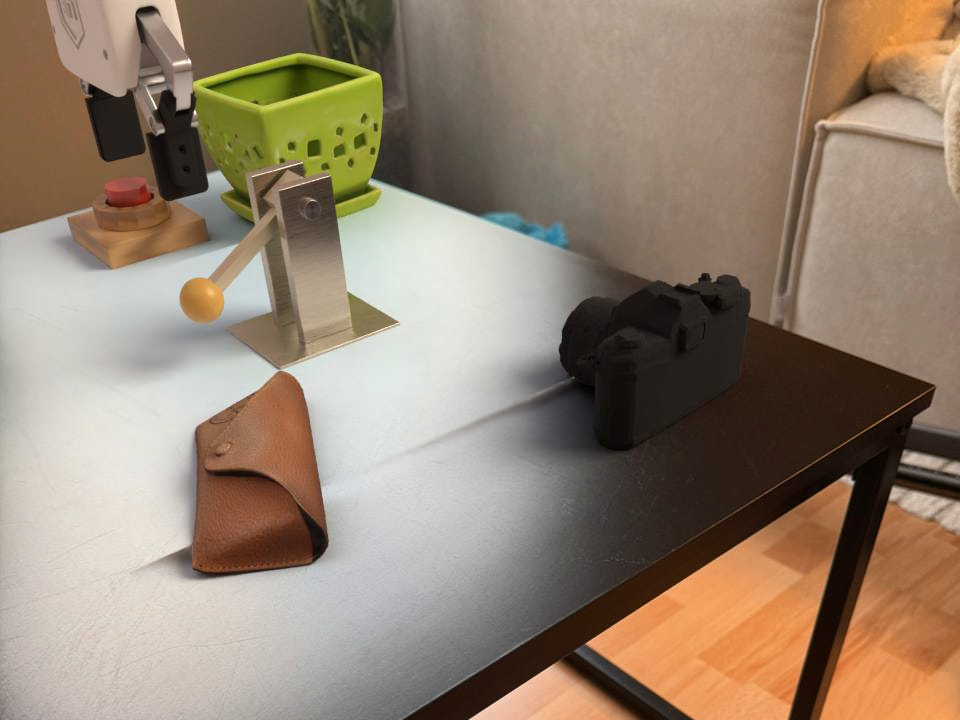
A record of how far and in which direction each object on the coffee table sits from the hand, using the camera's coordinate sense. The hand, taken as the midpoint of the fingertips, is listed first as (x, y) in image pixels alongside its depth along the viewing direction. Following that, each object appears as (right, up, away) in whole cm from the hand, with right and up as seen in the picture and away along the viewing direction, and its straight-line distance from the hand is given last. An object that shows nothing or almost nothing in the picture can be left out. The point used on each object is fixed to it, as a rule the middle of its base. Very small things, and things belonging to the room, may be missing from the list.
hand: (153, 175), depth 68 cm
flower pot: (+4, +11, +34) cm, 36 cm away
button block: (-11, +8, +31) cm, 34 cm away
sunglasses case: (+7, -21, -1) cm, 23 cm away
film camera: (+33, -14, +5) cm, 37 cm away
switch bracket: (+9, -7, +14) cm, 18 cm away
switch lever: (+5, -3, +8) cm, 10 cm away
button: (-11, +11, +29) cm, 33 cm away
